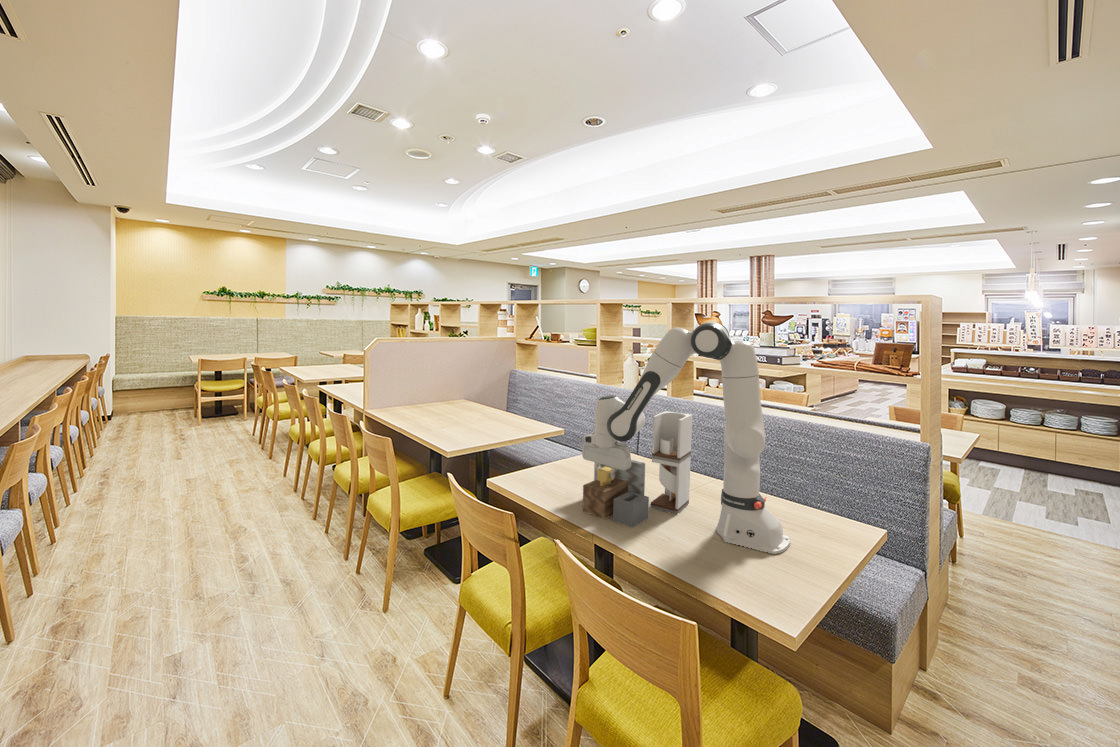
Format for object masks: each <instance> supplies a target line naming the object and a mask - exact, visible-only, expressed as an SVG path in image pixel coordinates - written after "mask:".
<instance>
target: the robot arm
mask: <svg viewBox="0 0 1120 747" xmlns="http://www.w3.org/2000/svg"><path fill="white" fill-rule="evenodd" d="M694 354H697V355H699V356H700V357H704V358H708V359H713V360H717V361H719V363H720V368H721V382H722V395H723V397H722V398H723V406H724V414H725V415H724V416H725V424H724V428H723V429H724V430H723V431H724V433H723V434H724V435H723V436H724V437H723V440H724V441H723V449H724V450H723V483H722V484H723V488H722V489H721V495H720V505H721V509H720V513H719V519H718V522H717V525H716V526H715V531H716V533H717V534H718V535H719V536H720V537H722V540H723V541H724V542H725V543H727V542H728V543H727V544H730V543H732V544H731V545H734V544H736V545H735V546H738V545H740V547H742V546H744V547H743V548H746V547H748V548H747V549H751V548H752V550H755V549H756V550H755V551H759V550H760V551H759V552H763V551H764V553H767V552H768V554H771V553H772V555H777V554H781V553H783V552H785V551H787V549H789V547H790V545H791V539H790V537H789V536H788V535H786V534H784V533H783V525H782V522H781V521H780V519H778V518H777V517H776V516H775V515H774V514H773V513H772V512H770V510H769V509H768V508H767V507H766V506H765V505H766V503H765V502H766V501H767V497H766V496H765V497H764V498H763V496H761V494H760V484H761V483H760V482H761V481H760V480H761V464H760V463H761V462H760V455H761V454H762V453H763V451H764V449H765V446H766V431H765V423H764V417H763V415H764V414H763V408H762V402H761V391H760V389H761V388H760V374H759V363H758V359H757V354H756V350H755V347H754V346H753V345H752V343H750V342H748V341H745V340H734V339H732V338H731V337H730V333H729V330H728V329H727V328H726V327H725V325H723V324H721V323H719V322H716V321H707V322H703V323H702V324H700V325H698V326H696V328H694V329H693V331H690V330H687V329H685V328H684V327H678V326H676V327H671V329H669V330H668V331H667V332H666V333H665V335H663V337H662V338H661V340H660V341H659V342H658V344H657V345H656V347H655V348H654V349H653V351H652V354H651V355H650V358H649V359H648V361H647V363H646V365H645V367H644V370H643V372H642V374H641V376H640V378H639V381H638V382H637V384H636V386H635V387H634V388H633V390H632V392H631V393H630V394H629V396H628V398H627V400H626V401H623V400H622V399H620V398H619V396H617V395H613V394H612V395H605V396H601V397H599V398H598V399H597V400H596V403H595V409H594V422H595V428H594V433H590V434H586V435H584V436H583V438H582V439H583V443H582V449H581V456H582V458H583V460H585V461H587V462H588V461H589V462H592V463H594V464H595V467H596V469H597V470H598V469H600V468H601V467H600V464H603V465H606V466H610V467H611V470H612V472H611V473H609V478H612V479H613V478H614V477H615V473H616V471H617V469H620V470H628V469H629V468H630V467H631V460H632V457H631V448H630V446H628V444H627V443H623V442H628V441H630V440H631V439H632V438H633V437H634V436H635V435H636V434H637V433H639V432H640V431H641V430H642V429H643V428H644V427H645V425H646V421H647V420H646V418H647V417H646V414H645V412H644V410H645V409H646V407H647V405H648V404H649V402H650V401H651V400H652V398H653V397H654V396H655V395H656V394H657V393H658V392H660V391H661V390H662V389H663V388H665V387H666V386H667V385H669V384H670V383H671V382H672V381H673V380H674V379H675V378H676V377H677V376H678V375H679V373H680V372H681V371H682V369H683V367H684V366H685V364H686V362H687V361H688V360H689V358H690V357H691V356H692V355H694Z"/></svg>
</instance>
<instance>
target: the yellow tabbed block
mask: <svg viewBox="0 0 1120 747" xmlns="http://www.w3.org/2000/svg"><path fill="white" fill-rule="evenodd" d="M611 472H612V470H611V468H609V467H603V468H600V469H598V470H597V480H598V481H600V486H605V485H608V484H610V483H611V480H614V478H613V479H612V478H609V473H611Z"/></svg>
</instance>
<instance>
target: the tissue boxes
mask: <svg viewBox="0 0 1120 747" xmlns="http://www.w3.org/2000/svg"><path fill="white" fill-rule="evenodd" d="M600 467H601V468H603V467H609V468H611V467H610V466H606V465H603V464H600ZM593 472H594V473H593V476H594V479H593V480H592V481H589V482H587V483H584V484H583V485H582V487H583V488H582V512H584V513H587V514H589V513H590V515H592V514H593V515H592V516H595V517H598V518H601V519H604V520H606V519H608V518H610V517H611V516H612V517H613V502H614V499H615V498H617V497H619V496H621V495H623V494H625V493H627V492H629V491H631V492H634V493H637V494H641V495H644V496H645V488H646V486H645V485H646V484H645V483H646V482H645V481H646V480H645V479H646V463H645V462H641V461H637V460H635V459H631V467H630V468H629V469H628V470H620V469H617V471H616V473H615V477H614V480H611V483H610V484H608V485H605V486H600V481H598V480H597V469H596V467H595V463H594V471H593Z"/></svg>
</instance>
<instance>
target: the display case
mask: <svg viewBox="0 0 1120 747" xmlns="http://www.w3.org/2000/svg"><path fill="white" fill-rule="evenodd" d="M692 432H693V414H690V413H682V412H676V411H675V412H673V411H667V410H665V411H662V412H660V413H658V414H656V415H653V416H652V442H651V446H652V447H651V462H652V463H655V464H659V467H658V468H659V471H658V476H659V477H658V480H659V482H660V484H661V485H662V486H663V487H664V493H663V492H662V493H661V494H660V495H658V496H657V497H656V498H655V499H654V500H652V501H651V502H650V503H649V505H650V509H653V510H658V511H661V512H666V513H669V512H670V513H669V514H672V513H673V515H676V514H678V513H679V514H680V513H681V512H682V511H684V510H685V509H686V508H687V507H688V506H689V505H690V485H691V484H690V483H691V482H690V481H691V460H692V456H691V455H692V436H693V435H692V434H693V433H692ZM688 504H689V505H688ZM687 505H688V506H687ZM686 506H687V507H686ZM685 507H686V508H685ZM684 508H685V509H684ZM679 514H678V515H679Z"/></svg>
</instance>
